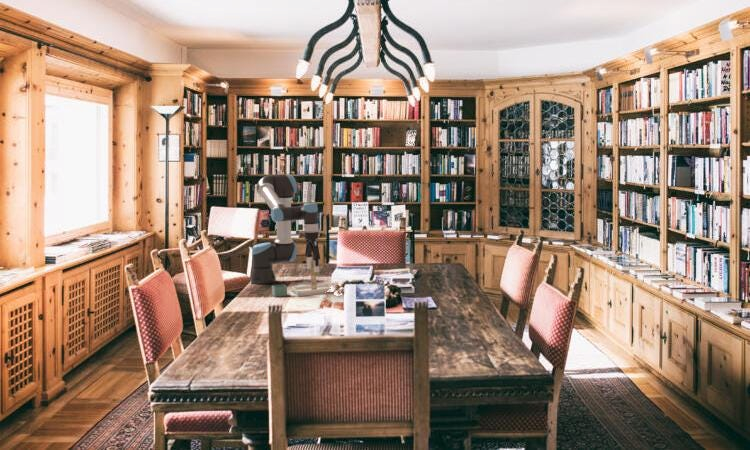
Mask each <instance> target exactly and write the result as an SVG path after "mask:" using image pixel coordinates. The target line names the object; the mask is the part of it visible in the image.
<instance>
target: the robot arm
mask: <svg viewBox="0 0 750 450" xmlns="http://www.w3.org/2000/svg"><path fill="white" fill-rule="evenodd" d="M297 191H298V185H297V181H296V178H295V176H294V175H292V174H289V173H288V174H268V175H264V176H263V177H262V178H260V179H259V180H258V182H257V184H256V192H257V194H258V196H259V197H260V198H262V199H263V200H264V201H265V203H266V204H267V206H268V208H269V209H270V217H271V220H272V221H273V222H276V238H275V239H274V242H273V243H274V244H272V243H271V242H262V243H258V244H255V245H253V246H252V248H251V256H252V271H251V272H252V273H251V277H250V283H251V284H253V283H254V285H258V284H259V285H260V284H261V285H263V284H272V283H275V282H277V277H276V275H275V271H274V268H273V264H284V263H286V264H287V263H292V262H294V261H295V260H296V258H297V253H298V247H297V244H296V242H294V240H293V239H292V222H293V221H303V228H304V231H305V232H304V239H305V242H306V246H305V253H304V255H305V257H306V268H307V270H311V268H310V261H312V260H314V272H316V273H320V259H321V254H320V250H319V242H318V239H319V237H320V235H319V234H320V233H319V215H318V214H319V213H318V210H319V209H318V204H317V203H316V202H308V203H307V202H305V203H304V204H303V205H300V206H299V205H298V206H292V199H293V198H294V195H295V194H297ZM316 240H317V241H316ZM312 257H313V258H312Z"/></svg>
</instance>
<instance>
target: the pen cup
mask: <svg viewBox="0 0 750 450" xmlns="http://www.w3.org/2000/svg"><path fill="white" fill-rule="evenodd" d="M271 294H272V296H273V297H285V296H288V287H287V285H286V284H274V285H271Z"/></svg>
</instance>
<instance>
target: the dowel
mask: <svg viewBox="0 0 750 450" xmlns="http://www.w3.org/2000/svg"><path fill="white" fill-rule="evenodd" d="M310 268H311V269H310V282H311V283H310V285H311V289H312V290H315V289H317V285H316V284H317V272H314V260H313V259H312V261H310Z"/></svg>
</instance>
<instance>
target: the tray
mask: <svg viewBox="0 0 750 450" xmlns="http://www.w3.org/2000/svg"><path fill="white" fill-rule="evenodd" d="M316 285H317V289H315V290H312V289H311V284H310V285H309V284H308V285H307V284H306V285H300V286H299V285H298V286H290V292H291V293H293V294H294V295H295V296H297V297H303V296H304V297H305V296H312V295H320V294H323V295H324V294H326V293H325V292H327V291H328V290H329V289H331V288H330V287H331V286H332V285H333V284H331V283H330V282H329V283H328V282H327V283H318V284H317V283H316Z"/></svg>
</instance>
